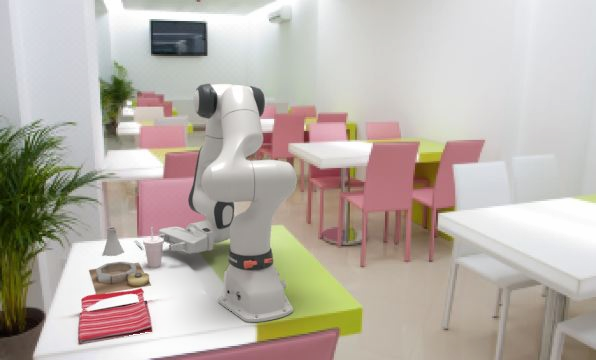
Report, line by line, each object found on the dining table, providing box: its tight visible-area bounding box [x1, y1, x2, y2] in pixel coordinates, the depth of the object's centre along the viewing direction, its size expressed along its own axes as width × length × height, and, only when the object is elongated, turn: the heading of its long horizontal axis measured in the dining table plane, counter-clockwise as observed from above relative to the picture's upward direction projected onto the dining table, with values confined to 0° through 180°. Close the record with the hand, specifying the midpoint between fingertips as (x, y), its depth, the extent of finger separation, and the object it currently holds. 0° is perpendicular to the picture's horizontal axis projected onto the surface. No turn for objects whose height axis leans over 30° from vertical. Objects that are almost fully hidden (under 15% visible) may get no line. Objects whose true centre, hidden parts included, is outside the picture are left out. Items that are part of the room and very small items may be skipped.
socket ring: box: [95, 261, 137, 284], centre depth 153 cm, size 11×11×2 cm
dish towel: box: [77, 287, 153, 345], centre depth 131 cm, size 17×24×3 cm
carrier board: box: [88, 262, 152, 294], centre depth 153 cm, size 20×15×4 cm
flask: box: [102, 226, 125, 257], centre depth 173 cm, size 7×7×10 cm
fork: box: [133, 240, 145, 251], centre depth 181 cm, size 3×24×2 cm, turn 29°
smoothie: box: [142, 226, 165, 269], centre depth 162 cm, size 6×6×14 cm
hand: (161, 244), depth 164 cm, fingers open, 8 cm apart
